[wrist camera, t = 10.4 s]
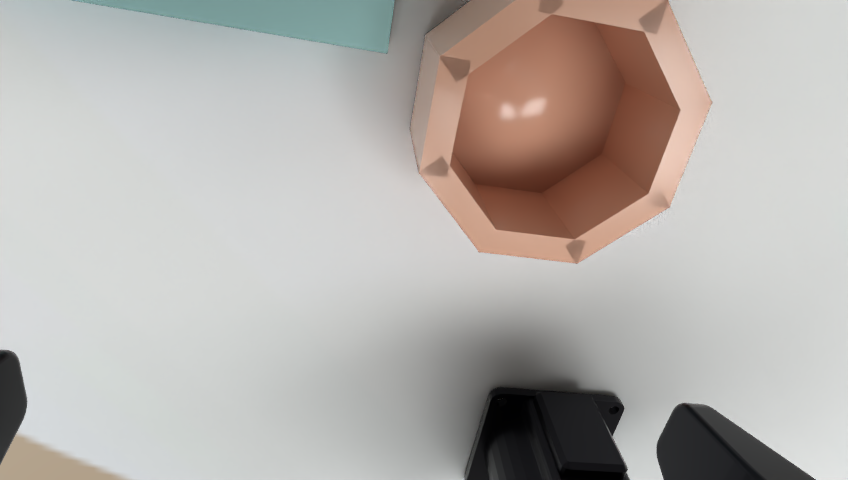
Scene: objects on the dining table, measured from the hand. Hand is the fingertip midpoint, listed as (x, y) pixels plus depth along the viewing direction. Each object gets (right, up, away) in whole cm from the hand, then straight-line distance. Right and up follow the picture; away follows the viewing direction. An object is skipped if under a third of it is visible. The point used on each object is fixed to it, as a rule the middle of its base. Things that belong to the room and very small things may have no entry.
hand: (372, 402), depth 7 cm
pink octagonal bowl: (+4, +7, +11) cm, 14 cm away
